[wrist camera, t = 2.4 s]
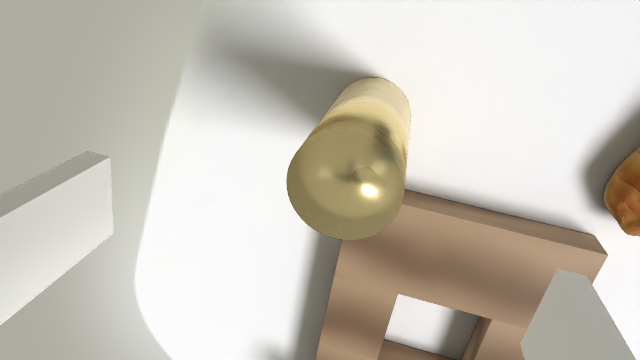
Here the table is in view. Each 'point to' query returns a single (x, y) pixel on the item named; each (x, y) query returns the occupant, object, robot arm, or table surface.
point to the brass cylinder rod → (354, 162)
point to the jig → (449, 277)
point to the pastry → (625, 194)
